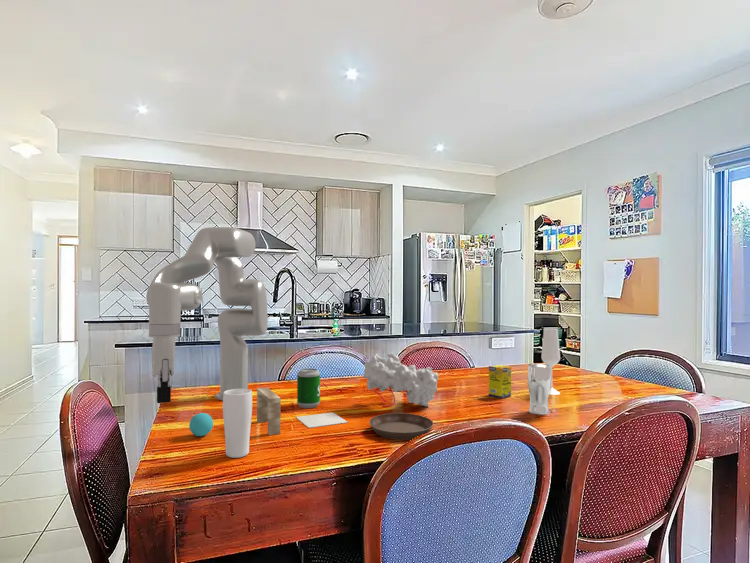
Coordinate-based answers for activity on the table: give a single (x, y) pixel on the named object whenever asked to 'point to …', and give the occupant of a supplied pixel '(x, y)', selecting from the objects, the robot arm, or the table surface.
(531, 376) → the white vase
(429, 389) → the molecular structure model
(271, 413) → the bridge
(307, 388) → the soda can
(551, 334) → the champagne flute
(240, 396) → the drinking glass
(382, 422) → the plant saucer
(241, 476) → the table surface
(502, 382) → the supplement box
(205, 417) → the ball
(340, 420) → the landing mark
